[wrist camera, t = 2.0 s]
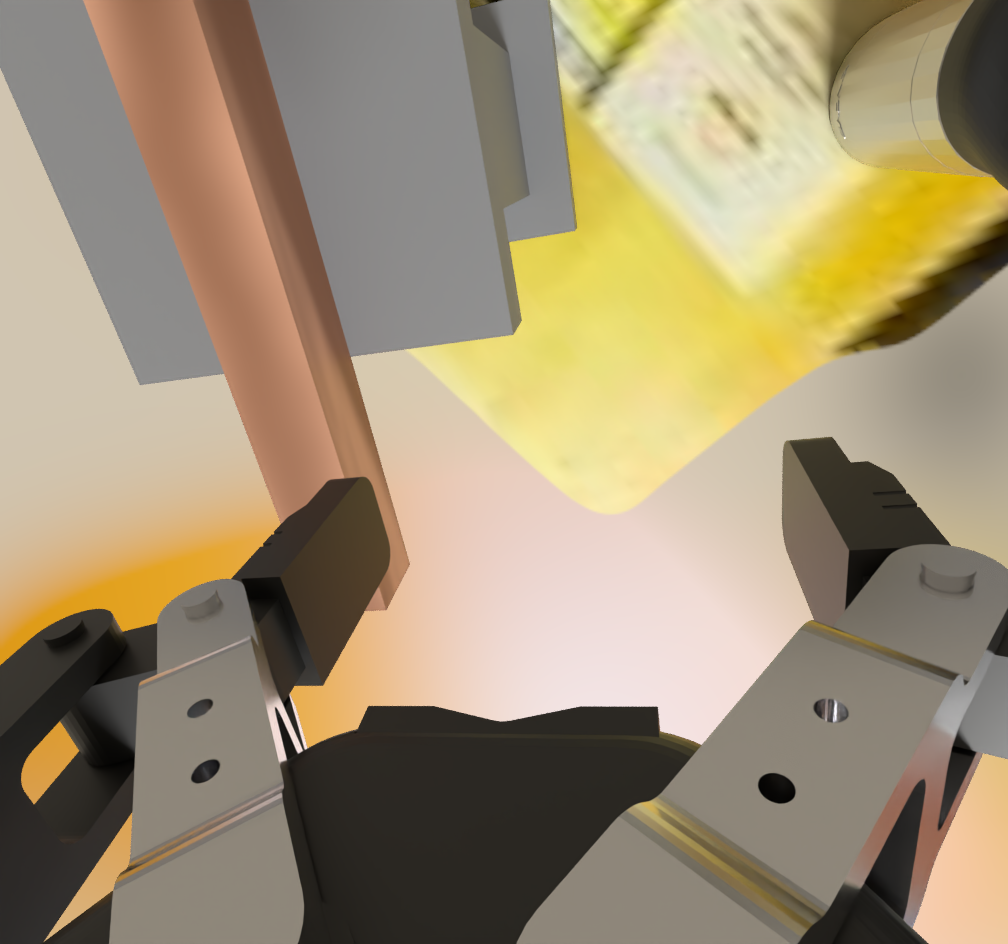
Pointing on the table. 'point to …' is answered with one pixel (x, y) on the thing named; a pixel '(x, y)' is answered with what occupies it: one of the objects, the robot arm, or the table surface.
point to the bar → (246, 242)
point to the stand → (326, 165)
